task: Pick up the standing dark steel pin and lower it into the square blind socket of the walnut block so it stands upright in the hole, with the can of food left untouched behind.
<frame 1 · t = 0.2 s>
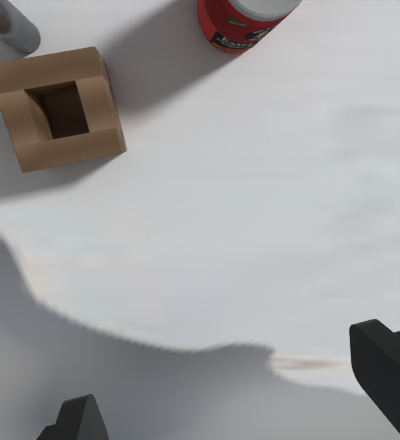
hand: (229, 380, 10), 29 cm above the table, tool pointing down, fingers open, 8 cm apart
canned food: (231, 14, 33), on the table
pin: (24, 36, 31), on the table
socket block: (74, 116, 33), on the table
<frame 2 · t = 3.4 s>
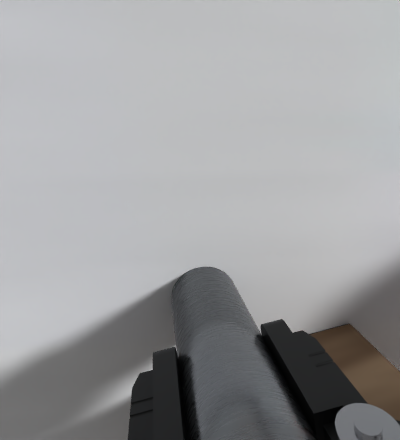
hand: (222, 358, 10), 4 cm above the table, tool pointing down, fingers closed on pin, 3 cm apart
pin: (204, 297, 14), on the table, touching gripper
socket block: (276, 415, 17), on the table
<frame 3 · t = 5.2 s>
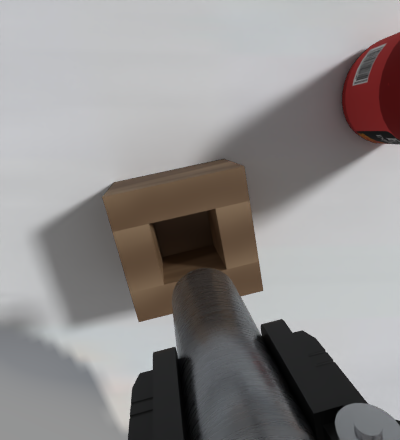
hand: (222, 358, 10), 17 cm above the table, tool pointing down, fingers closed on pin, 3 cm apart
canned food: (379, 94, 26), on the table
pin: (204, 297, 14), point 13 cm above the table, touching gripper
socket block: (181, 222, 26), on the table
when the fingers open (7 cm above the table, at t = 6.9 s): pin drops 2 cm, resting on socket block.
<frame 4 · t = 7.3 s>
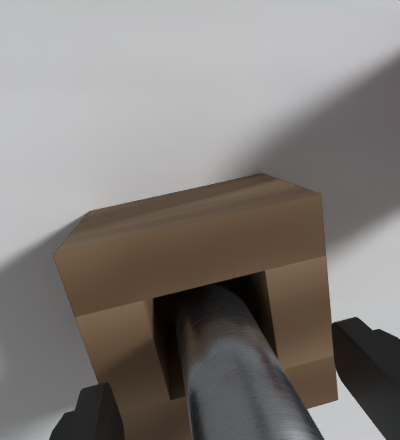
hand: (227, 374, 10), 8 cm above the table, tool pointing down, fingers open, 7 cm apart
pin: (197, 278, 16), point 1 cm above the table, touching socket block
socket block: (195, 270, 17), on the table
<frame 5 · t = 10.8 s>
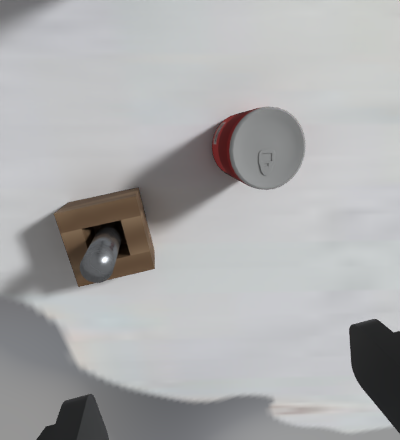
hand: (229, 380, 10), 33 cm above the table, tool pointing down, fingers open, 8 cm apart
canned food: (239, 145, 41), on the table
pin: (112, 229, 40), point 1 cm above the table, touching socket block
socket block: (113, 227, 41), on the table
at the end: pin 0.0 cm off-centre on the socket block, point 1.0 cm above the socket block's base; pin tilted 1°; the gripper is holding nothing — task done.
